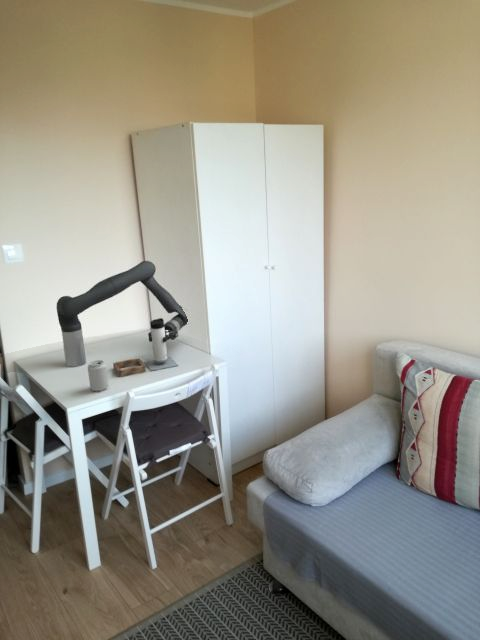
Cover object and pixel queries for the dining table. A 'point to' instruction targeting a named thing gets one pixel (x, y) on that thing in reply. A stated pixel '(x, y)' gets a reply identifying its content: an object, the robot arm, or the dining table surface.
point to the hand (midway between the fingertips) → (156, 340)
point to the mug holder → (129, 370)
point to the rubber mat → (161, 364)
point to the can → (98, 375)
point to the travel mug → (158, 340)
